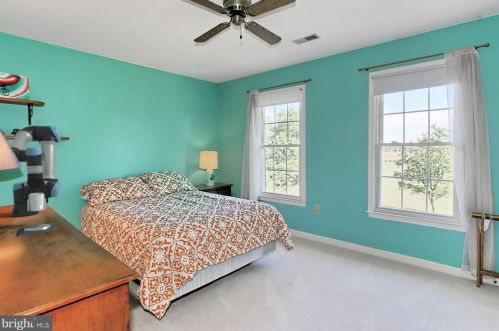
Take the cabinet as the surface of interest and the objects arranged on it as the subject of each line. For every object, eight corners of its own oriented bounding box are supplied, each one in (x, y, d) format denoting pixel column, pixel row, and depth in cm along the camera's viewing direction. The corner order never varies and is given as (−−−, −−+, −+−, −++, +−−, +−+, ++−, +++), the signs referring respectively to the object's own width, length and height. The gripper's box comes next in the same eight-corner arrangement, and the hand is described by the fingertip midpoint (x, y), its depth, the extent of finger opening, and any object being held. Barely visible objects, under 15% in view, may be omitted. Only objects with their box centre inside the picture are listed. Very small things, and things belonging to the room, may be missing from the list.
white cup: (26, 210, 164) (25, 194, 163) (41, 207, 171) (40, 192, 170) (33, 212, 160) (32, 195, 159) (47, 209, 167) (47, 193, 166)
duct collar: (20, 229, 155) (20, 226, 154) (54, 224, 164) (54, 221, 164) (18, 236, 144) (18, 232, 143) (55, 230, 153) (55, 227, 153)
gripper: (12, 174, 154) (14, 213, 156) (55, 172, 167) (57, 208, 169) (13, 173, 160) (15, 210, 162) (55, 171, 173) (57, 206, 175)
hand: (37, 209), depth 166 cm, fingers closed on white cup, 7 cm apart
